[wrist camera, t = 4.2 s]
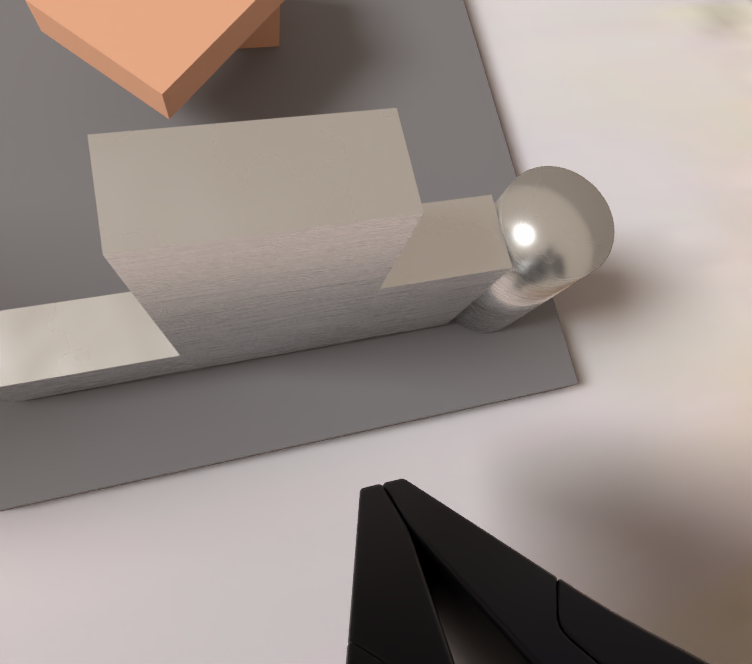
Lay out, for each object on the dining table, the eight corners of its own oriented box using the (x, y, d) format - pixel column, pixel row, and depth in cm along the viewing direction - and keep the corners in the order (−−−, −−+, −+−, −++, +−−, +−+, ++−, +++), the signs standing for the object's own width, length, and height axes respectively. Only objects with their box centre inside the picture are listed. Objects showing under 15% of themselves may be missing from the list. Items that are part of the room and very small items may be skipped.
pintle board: (565, 387, 19) (656, 360, 14) (-4, 511, 15) (-120, 527, 10) (447, -13, 22) (492, -136, 17) (-44, 5, 18) (-145, -146, 14)
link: (533, 324, 18) (754, 196, 10) (12, 421, 14) (-321, 352, 6) (509, 242, 18) (699, 56, 10) (4, 318, 15) (-313, 133, 7)
